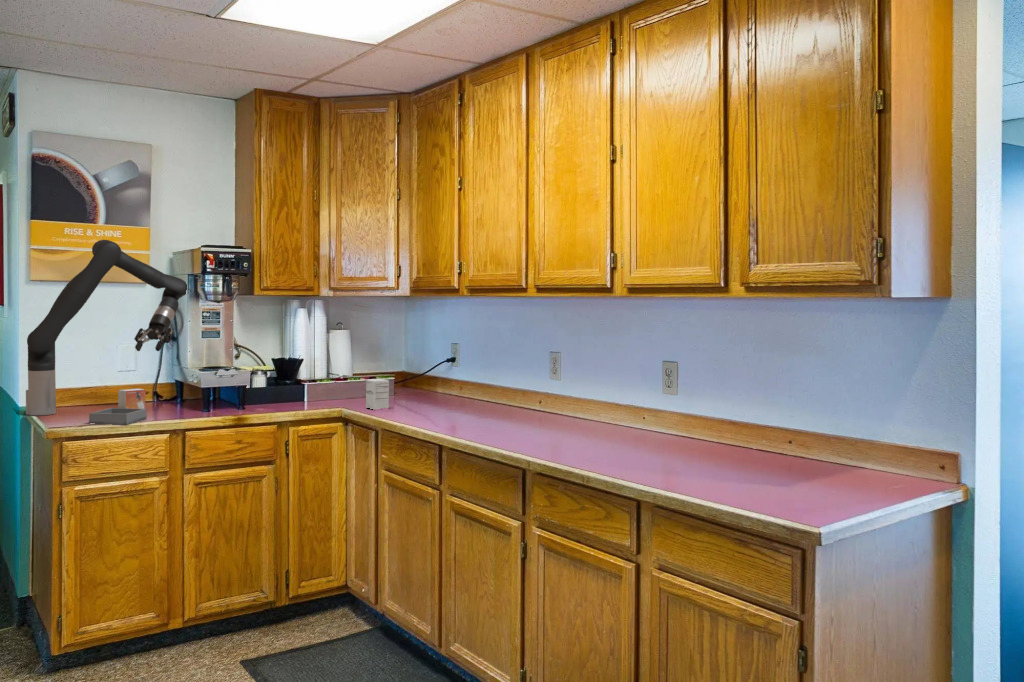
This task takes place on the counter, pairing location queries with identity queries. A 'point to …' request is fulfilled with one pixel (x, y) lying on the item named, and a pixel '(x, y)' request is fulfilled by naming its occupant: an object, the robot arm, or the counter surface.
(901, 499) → the counter surface
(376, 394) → the supplement box
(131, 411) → the grey tray
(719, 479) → the counter surface
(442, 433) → the counter surface
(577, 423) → the counter surface
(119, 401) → the small box
